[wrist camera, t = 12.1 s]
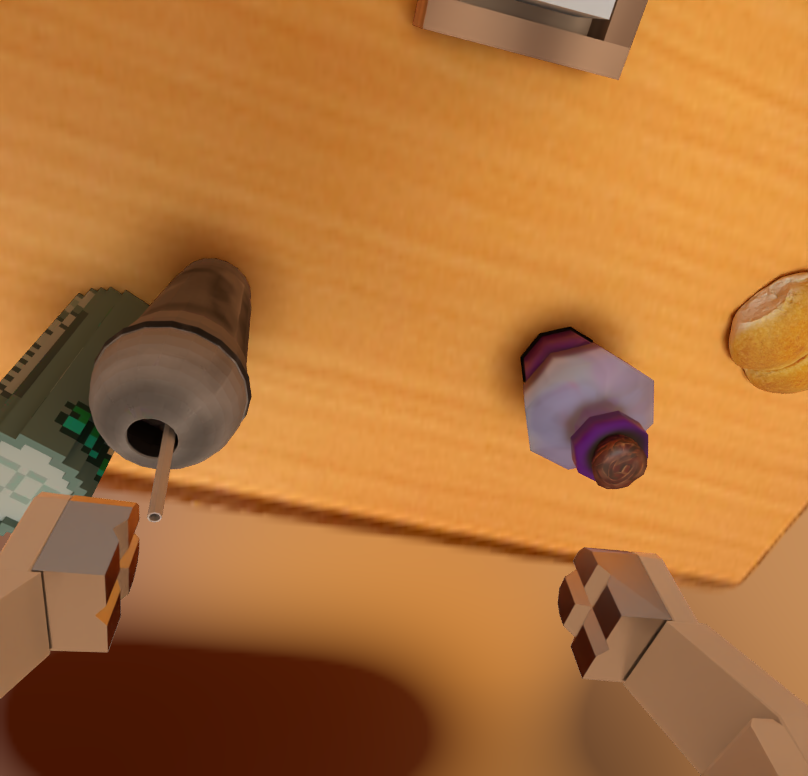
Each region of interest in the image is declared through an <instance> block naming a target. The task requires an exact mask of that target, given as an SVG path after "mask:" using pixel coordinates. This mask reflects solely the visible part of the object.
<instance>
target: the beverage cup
mask: <svg viewBox="0 0 808 776" xmlns="http://www.w3.org/2000/svg"><path fill="white" fill-rule="evenodd" d="M250 299H251V293H250V286H249V284H248V282H247V280H246V278H245V276H244V275H243V274H242V273H241V272H240V271H239V269H238V268H236V267H235V266H233V265H231V264H230V263H228V262H226V261H222V260H219V259H201V260H198V261H195V262H193V263H191V264H190V265H189V266H187V267H186V268H185V269H184V271H182V272H181V273H180V274H178V275H177V276H176V277H175V278H174V279H173V280H172V282H171V283H170V284H169V285H168V286H167V287H166V288H165V289H164V290H163V292H162V293H161V294H160V295H159V296H158V297H157V298H156V299H155V300H154V302H153V303H152V304H151V305H150V306H149V307H148V308H147V309H146V310H145V312H144V313H143V314H142V315H141V316H140V317H139V318H138V319H137V320H136V321H135V322H133V323H132V324H131V325H129V326H128V327H126V328H123V329H122V330H120V331H119V332H118V333H116V334H115V335H114V336H112V337H111V338H110V339H108V340H107V341H106V342H105V343H104V345H103V347H102V348H101V350H100V352H99V353H98V355H97V357H96V359H95V362H94V370H93V372H92V376H91V382H90V391H89V407H90V410H91V414H92V417H93V420H94V424H95V426H96V429H97V431H98V432H99V433H100V435H101V436H102V437H103V439H104V440H105V442H106V443H107V444H108V446H110V447H111V448H112V449H113V450H114V451H116V452H117V453H118V454H119V455H121V456H122V457H123V458H125V459H126V460H129V461H131V462H133V463H135V464H138V465H140V466H143V467H148V468H153V469H156V473H155V479H154V484H153V489H152V494H151V500H150V505H149V510H148V516H147V518H148V520H149V521H151V522H158V521H160V520H161V518H162V514H163V508H164V502H165V496H166V490H167V484H168V478H169V472H170V469H181V468H184V467H188V466H191V465H195V464H198V463H200V462H202V461H204V460H206V459H207V458H209V457H210V456H212V455H213V454H215V453H216V452H218V451H219V450H221V449H222V448H223V447H224V446H225V445H226V444H227V442H228V441H229V440H230V438H231V437H232V436H233V434H234V433H235V432H236V430H237V429H238V427H239V426H240V423H241V422H242V420H243V419H244V418H245V416H246V415H247V411H248V407H249V404H250V400H251V390H250V382H249V376H248V374H247V366H246V362H247V351H248V339H249V327H250V316H251V302H250Z"/></svg>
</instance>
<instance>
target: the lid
mask: <svg viewBox="0 0 808 776" xmlns="http://www.w3.org/2000/svg"><path fill="white" fill-rule="evenodd" d="M516 1H519V2H523V3H527V4H530V5H534V6H538V7H541V8H545V9H549V10H552V11H556V12H560V13H563V14H567V15H571V16H575V17H583V18H595V19H607V20H609V18H610V15H611V12H612V9H613V7H614V4H615V1H616V0H516Z"/></svg>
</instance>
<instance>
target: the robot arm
mask: <svg viewBox="0 0 808 776" xmlns="http://www.w3.org/2000/svg"><path fill="white" fill-rule="evenodd" d="M138 522H139V505H138V504H137V503H134V502H126V501H118V500H110V499H102V498H94V497H86V496H78V495H74V496H72V495H64V494H56V493H48V492H41V493H40V494H38V495H37V496H36V497H35V498H33V500H32V502H31V503H30V505H29V507H28V508H27V510H26V511H25V513H24V515H23V516H22V518H21V520H20V521H19V523H18V524H17V526H16V528H15V529H14V531H13V532H12V534H11V536H10V537H9V539H8V541H7V542H6V544H5V545H4V547H3V549H2V550H1V552H0V699H1V698H2V697H3V696H4V695H5V694H6V693H7V692H8V691H9V690H11V689H12V688H13V687H14V686H15V685H16V684H17V683H18V682H19V681H21V680H22V679H23V678H24V677H25V676H26V675H27V674H28V673H29V672H30V671H32V670H33V669H34V668H35V667H36V666H37V665H38V664H39V663H40V662H42V661H43V660H44V659H45V658H46V657H47V656H48V655H49V654H50V651H83V652H108V650H109V647H110V645H111V642H112V639H113V636H114V633H115V631H116V628H117V625H118V622H119V620H120V616H121V606H120V605H121V599H122V598H124V597H125V596H126V595H128V594H129V592H130V588H131V586H132V583H133V580H134V576H135V571H136V567H137V563H138V555H139V537H138V536H137V535H136V534H135V530H136V527H137V525H138ZM573 562H574V564H575V567H576V570H575V571H573V572H571V573H570V574H569V575H567V576H565V578H564V580H563V582H562V584H561V586H560V588H559V596H558V608H559V614H560V617H561V620H562V623H563V626H564V627H565V628H566V629H567V630H568V631H569V632H571V634H572V635H573V636H574V639H573V642H572V644H571V649H572V651H573V654H574V657H575V660H576V662H577V665H578V668H579V671H580V674H581V676H582V679H592V680H603V681H616V682H625V683H624V686H625V687H626V688H627V689H628V691H629V692H630V693H631V694H632V695H633V696H634V698H635V699H636V700H637V701H638V702H639V703H640V705H641V706H642V707H643V708H644V709H645V710H646V712H647V713H648V714H649V715H650V716H651V717H652V718H653V720H655V722H656V723H657V724H658V725H659V727H660V728H661V729H662V730H663V731H664V732H665V734H666V735H667V736H668V737H669V738H670V739H671V741H672V742H673V743H674V744H675V745H676V746H677V748H678V749H679V750H680V751H681V752H682V753H683V755H684V756H685V757H686V758H687V759H688V760H689V762H690V763H691V764H692V765H693V766H694V767H695V769H696V770H697V771H698V772H699V773H700V774H701V775H700V776H808V706H807V705H806V704H805V703H804V702H802V701H801V700H800V699H799V698H797V697H796V696H795V695H794V694H792V693H791V692H790V691H789V690H787V689H786V688H785V687H784V686H783V685H781V684H780V683H779V682H778V681H776V680H775V679H774V678H773V677H771V676H770V675H769V674H768V673H766V672H765V671H764V670H763V669H761V668H760V667H759V666H758V665H756V664H755V663H754V662H753V661H752V660H750V659H749V658H748V657H747V656H745V655H744V654H742V652H740V651H739V650H738V649H736V648H735V647H734V646H733V645H732V644H730V643H729V642H728V641H727V640H725V639H724V638H723V637H722V636H720V635H719V634H718V633H717V632H715V631H714V630H713V629H712V628H710V627H709V626H708V625H707V624H700V623H698V621H697V619H696V617H695V615H694V614H693V612H692V610H691V608H690V607H689V605H688V603H687V602H686V600H685V598H684V596H683V595H682V593H681V591H680V589H679V588H678V586H677V584H676V582H675V581H674V579H673V577H672V576H671V574H670V572H669V570H668V569H667V567H666V565H665V563H664V562H663V560H662V559H661V558H660V557H659V556H658V555H657V554H652V553H641V552H628V551H618V550H607V549H596V548H585V547H584V548H583V549H581V550H580V551H579V552H578V553H577V555H576V557H575V559H574V560H573Z"/></svg>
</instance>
